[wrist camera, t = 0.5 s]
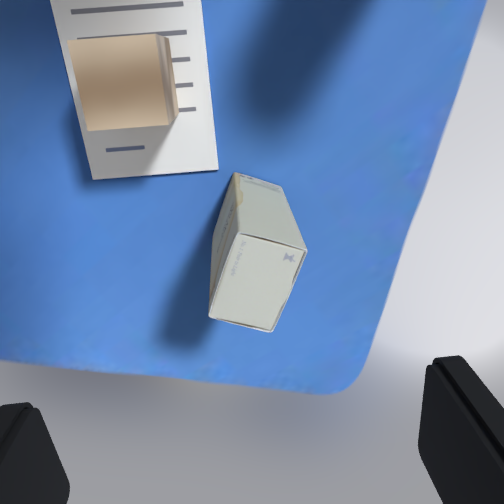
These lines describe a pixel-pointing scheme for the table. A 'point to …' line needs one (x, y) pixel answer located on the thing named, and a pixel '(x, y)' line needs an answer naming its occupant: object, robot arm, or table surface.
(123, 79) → the block
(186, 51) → the letter
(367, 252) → the table surface
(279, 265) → the skincare box
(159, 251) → the table surface
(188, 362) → the table surface
